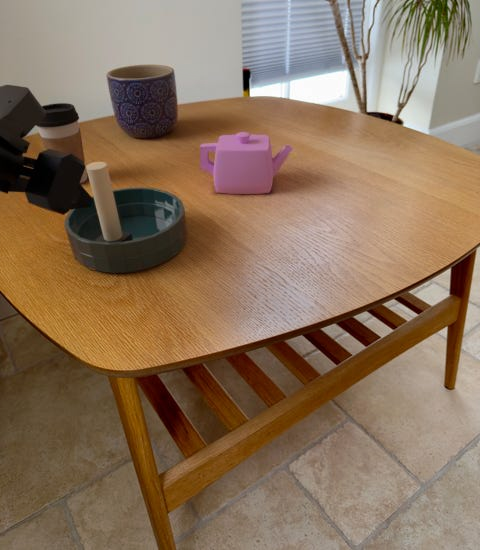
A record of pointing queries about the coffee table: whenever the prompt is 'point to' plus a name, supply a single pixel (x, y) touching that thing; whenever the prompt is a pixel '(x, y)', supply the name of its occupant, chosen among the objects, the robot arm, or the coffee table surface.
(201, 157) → the teapot
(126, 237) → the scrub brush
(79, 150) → the coffee cup
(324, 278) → the coffee table surface
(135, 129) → the planter
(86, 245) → the basin
